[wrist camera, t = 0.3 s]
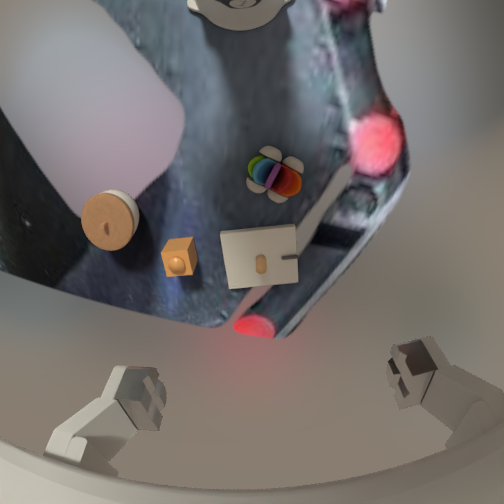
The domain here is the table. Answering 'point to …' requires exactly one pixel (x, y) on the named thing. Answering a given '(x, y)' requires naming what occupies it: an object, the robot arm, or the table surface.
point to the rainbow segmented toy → (274, 175)
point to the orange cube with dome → (179, 257)
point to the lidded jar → (110, 219)
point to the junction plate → (257, 245)
